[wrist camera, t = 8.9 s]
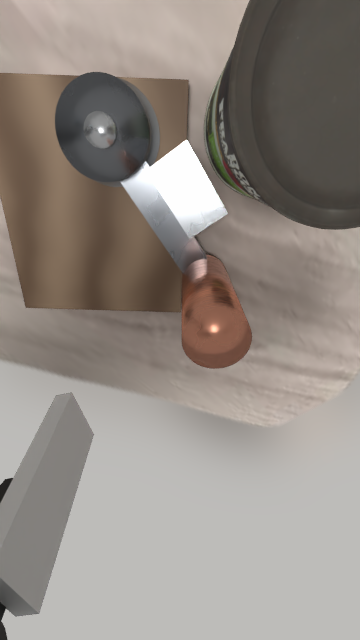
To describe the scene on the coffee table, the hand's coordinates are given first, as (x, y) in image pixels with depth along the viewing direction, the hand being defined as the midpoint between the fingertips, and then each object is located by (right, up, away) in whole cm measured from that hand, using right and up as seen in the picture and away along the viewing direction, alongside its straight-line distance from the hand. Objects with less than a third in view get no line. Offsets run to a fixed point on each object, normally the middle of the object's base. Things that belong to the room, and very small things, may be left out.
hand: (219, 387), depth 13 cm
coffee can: (+5, +18, +10) cm, 22 cm away
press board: (-9, +13, +13) cm, 20 cm away
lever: (-3, +12, +11) cm, 17 cm away
